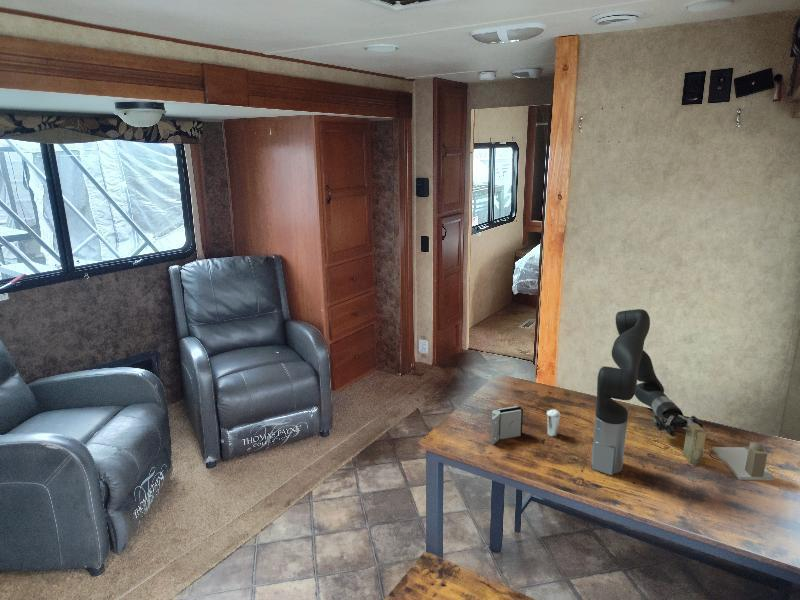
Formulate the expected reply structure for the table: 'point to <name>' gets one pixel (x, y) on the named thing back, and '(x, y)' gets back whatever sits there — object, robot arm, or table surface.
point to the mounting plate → (745, 461)
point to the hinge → (506, 423)
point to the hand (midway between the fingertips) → (687, 434)
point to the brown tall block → (694, 444)
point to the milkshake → (552, 422)
